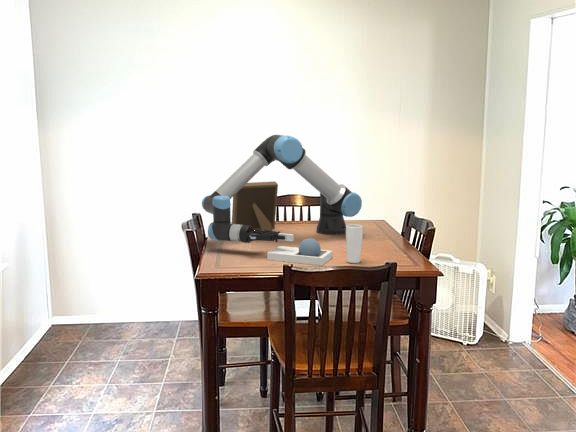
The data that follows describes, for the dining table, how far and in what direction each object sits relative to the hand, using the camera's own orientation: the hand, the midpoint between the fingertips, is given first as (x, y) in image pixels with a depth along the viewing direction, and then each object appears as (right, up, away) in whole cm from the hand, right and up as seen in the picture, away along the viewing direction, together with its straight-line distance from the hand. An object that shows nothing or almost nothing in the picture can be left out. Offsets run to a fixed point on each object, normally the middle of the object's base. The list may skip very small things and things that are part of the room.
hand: (293, 237), depth 243 cm
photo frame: (-18, +1, +53) cm, 56 cm away
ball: (+7, -5, -2) cm, 8 cm away
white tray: (+3, -9, 0) cm, 9 cm away
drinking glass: (+25, -10, -5) cm, 27 cm away
